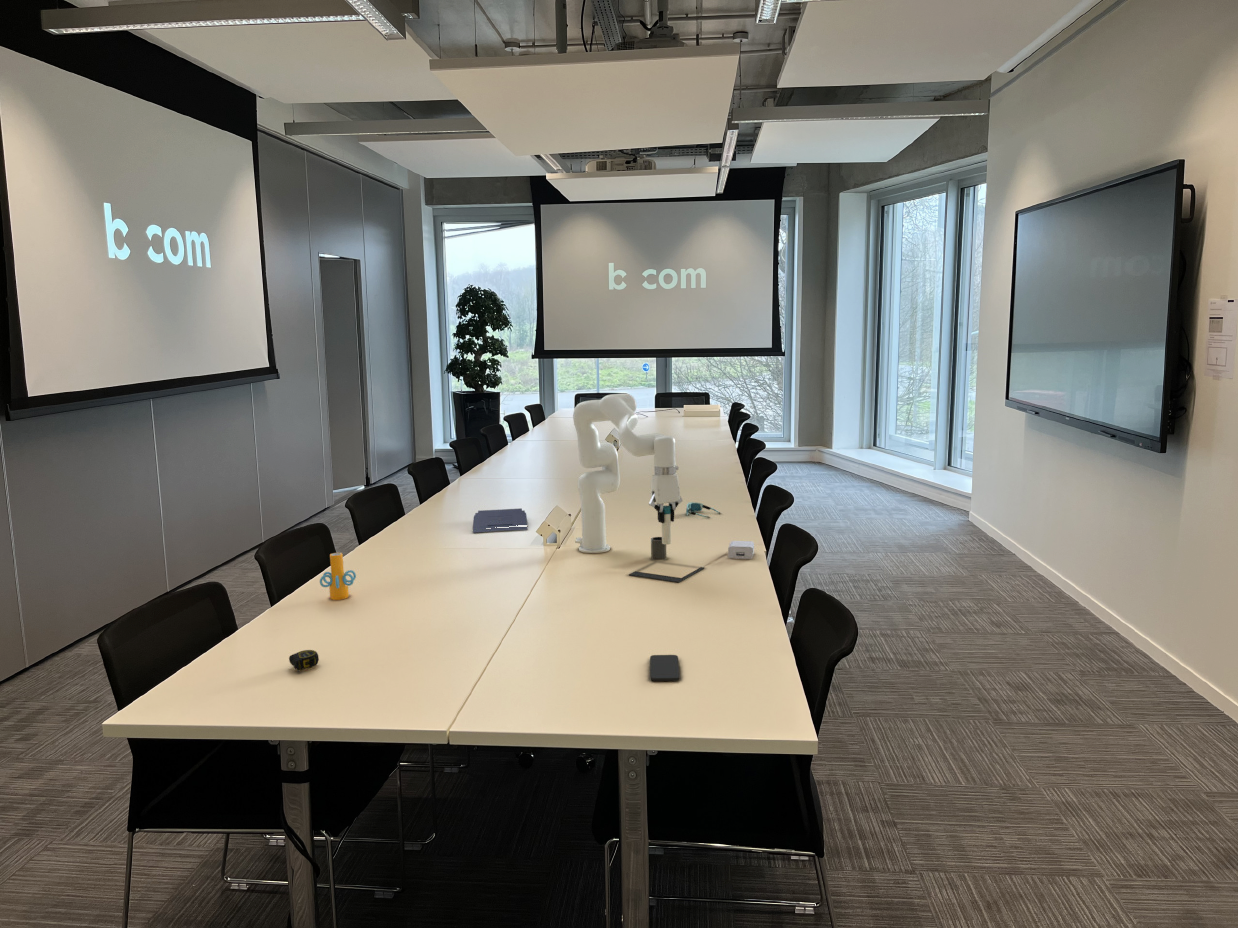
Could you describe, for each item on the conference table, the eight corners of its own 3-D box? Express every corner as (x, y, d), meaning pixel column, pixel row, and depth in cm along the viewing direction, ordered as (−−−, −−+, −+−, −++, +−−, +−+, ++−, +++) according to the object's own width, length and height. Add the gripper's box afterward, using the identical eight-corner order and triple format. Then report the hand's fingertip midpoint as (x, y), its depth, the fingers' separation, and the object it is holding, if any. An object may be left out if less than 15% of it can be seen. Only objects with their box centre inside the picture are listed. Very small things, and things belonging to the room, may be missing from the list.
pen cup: (648, 560, 323) (648, 539, 321) (656, 556, 328) (655, 536, 326) (661, 561, 320) (661, 541, 318) (669, 558, 325) (668, 537, 323)
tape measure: (289, 666, 227) (287, 652, 226) (315, 660, 231) (314, 646, 230) (295, 674, 221) (294, 660, 221) (322, 667, 225) (321, 654, 224)
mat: (628, 575, 303) (628, 574, 303) (656, 561, 320) (656, 560, 320) (678, 582, 292) (678, 581, 292) (704, 568, 309) (704, 567, 309)
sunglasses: (695, 509, 410) (696, 499, 408) (722, 517, 401) (723, 507, 400) (680, 515, 398) (681, 505, 397) (707, 522, 390) (708, 512, 389)
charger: (755, 549, 334) (752, 559, 320) (731, 548, 336) (728, 558, 322) (755, 537, 334) (752, 546, 319) (731, 536, 336) (728, 546, 321)
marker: (660, 543, 304) (659, 506, 302) (664, 541, 307) (664, 505, 305) (668, 544, 302) (667, 507, 300) (672, 542, 305) (672, 505, 303)
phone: (650, 678, 210) (649, 654, 225) (650, 681, 211) (650, 657, 225) (680, 677, 210) (677, 654, 225) (680, 681, 210) (678, 657, 225)
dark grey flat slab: (526, 513, 406) (525, 506, 405) (528, 535, 377) (527, 527, 376) (474, 516, 402) (474, 509, 401) (472, 538, 374) (472, 530, 373)
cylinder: (364, 594, 289) (361, 551, 287) (345, 603, 279) (341, 559, 277) (334, 591, 293) (331, 549, 291) (314, 600, 283) (310, 557, 281)
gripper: (679, 467, 308) (680, 517, 310) (639, 471, 300) (640, 522, 303) (690, 469, 301) (691, 520, 304) (650, 474, 293) (651, 526, 296)
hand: (666, 521), depth 303 cm, fingers closed on marker, 3 cm apart
